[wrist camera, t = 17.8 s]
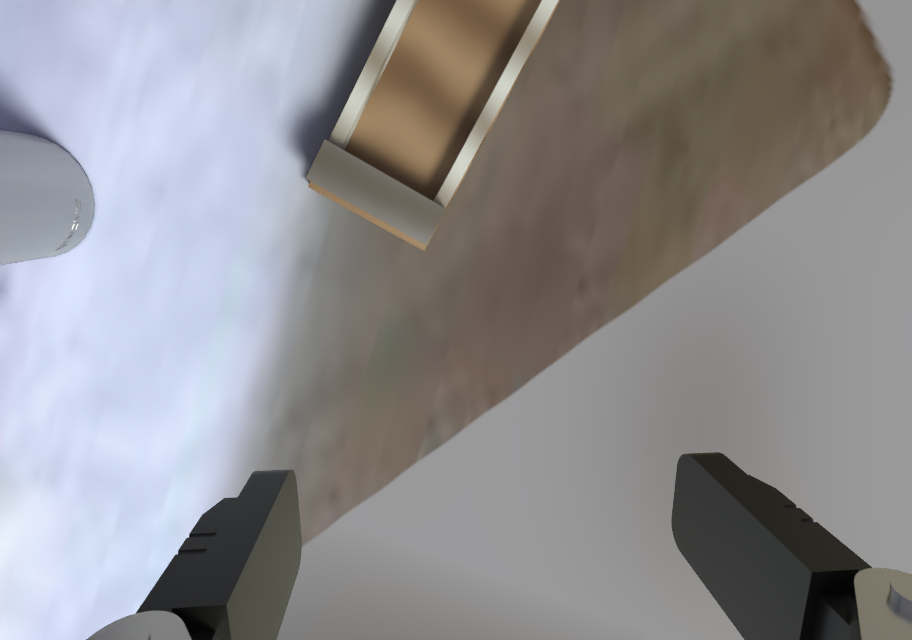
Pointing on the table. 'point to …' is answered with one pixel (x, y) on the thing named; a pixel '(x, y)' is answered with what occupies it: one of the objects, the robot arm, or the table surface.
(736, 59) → the table surface
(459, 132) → the rail
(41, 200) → the robot arm
